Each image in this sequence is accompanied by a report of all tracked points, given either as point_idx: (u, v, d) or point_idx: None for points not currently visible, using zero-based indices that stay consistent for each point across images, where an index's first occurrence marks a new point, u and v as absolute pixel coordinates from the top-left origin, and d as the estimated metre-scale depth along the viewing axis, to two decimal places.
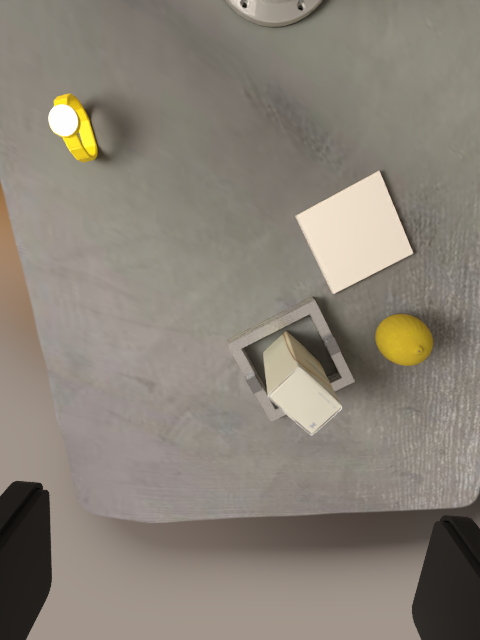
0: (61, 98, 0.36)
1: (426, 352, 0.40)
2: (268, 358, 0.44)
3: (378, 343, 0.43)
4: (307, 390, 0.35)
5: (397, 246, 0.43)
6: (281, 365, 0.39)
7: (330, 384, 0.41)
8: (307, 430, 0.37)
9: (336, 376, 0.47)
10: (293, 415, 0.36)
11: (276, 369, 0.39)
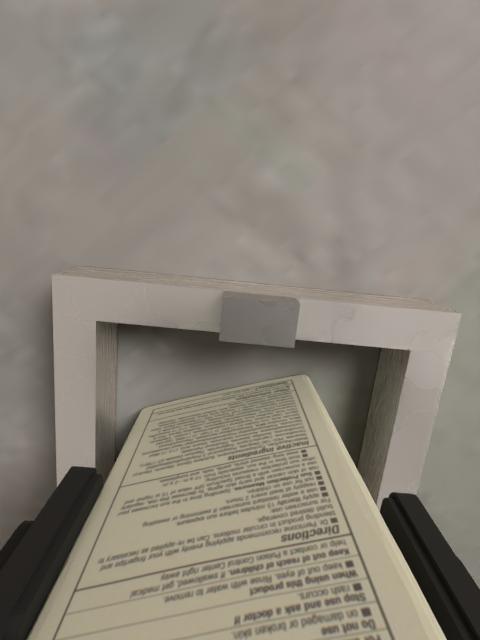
0: None
1: None
2: None
3: None
4: None
5: None
6: None
7: None
8: None
9: None
10: None
11: None
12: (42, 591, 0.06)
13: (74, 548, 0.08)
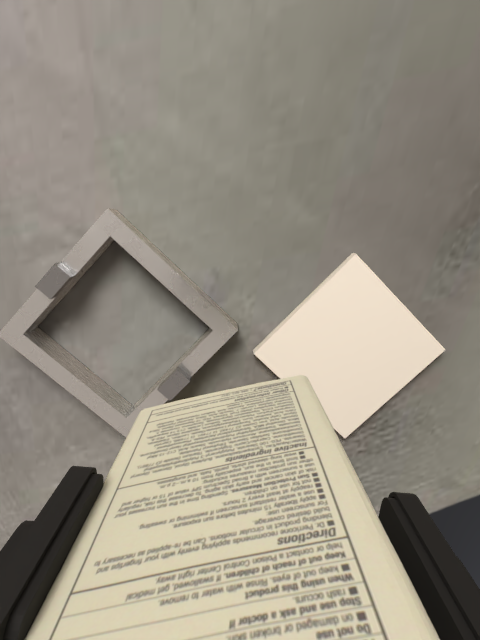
0: None
1: None
2: None
3: None
4: None
5: (348, 414, 0.29)
6: None
7: None
8: None
9: (125, 407, 0.28)
10: None
11: None
12: (43, 591, 0.06)
13: (71, 550, 0.08)
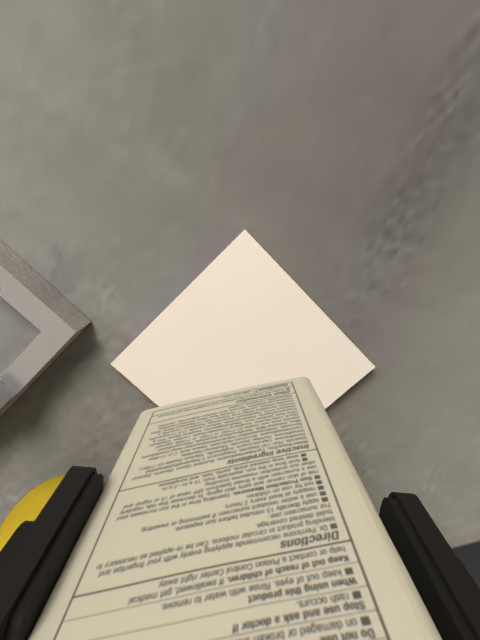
0: None
1: None
2: None
3: (27, 499, 0.19)
4: None
5: None
6: None
7: None
8: None
9: None
10: None
11: None
12: (42, 591, 0.06)
13: (72, 553, 0.07)
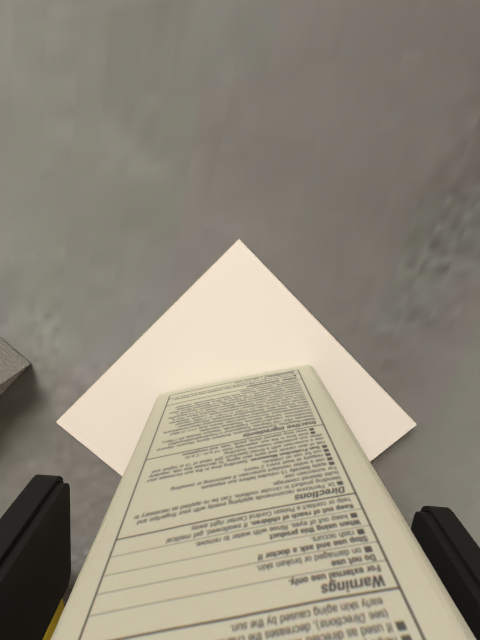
0: None
1: None
2: None
3: None
4: None
5: None
6: None
7: None
8: None
9: None
10: None
11: None
12: None
13: (110, 508, 0.09)
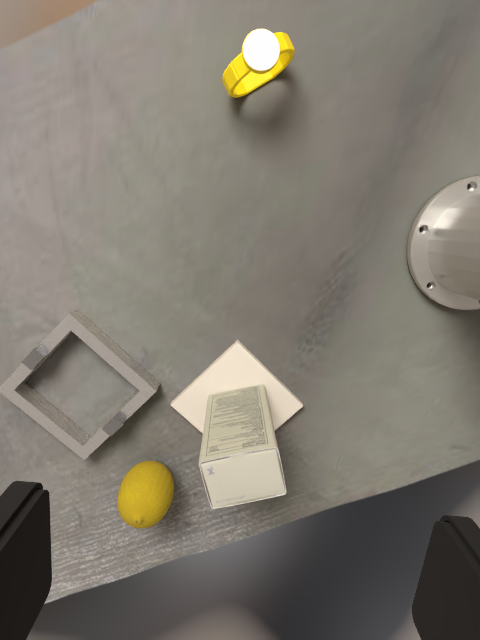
0: (286, 41, 0.29)
1: (138, 526, 0.37)
2: None
3: (133, 471, 0.39)
4: (255, 488, 0.29)
5: None
6: None
7: None
8: (208, 462, 0.29)
9: (83, 437, 0.41)
10: (235, 459, 0.28)
11: None
12: None
13: (205, 423, 0.34)
